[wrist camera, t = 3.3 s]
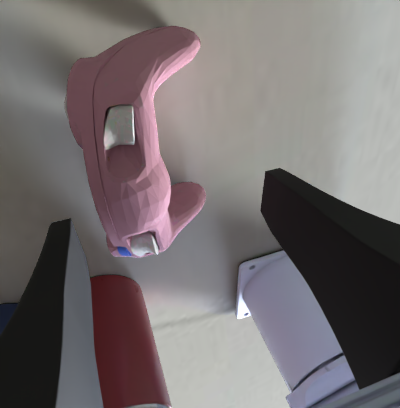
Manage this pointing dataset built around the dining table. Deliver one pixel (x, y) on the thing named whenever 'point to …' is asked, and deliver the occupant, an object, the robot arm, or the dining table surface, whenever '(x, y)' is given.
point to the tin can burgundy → (125, 346)
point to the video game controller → (131, 140)
